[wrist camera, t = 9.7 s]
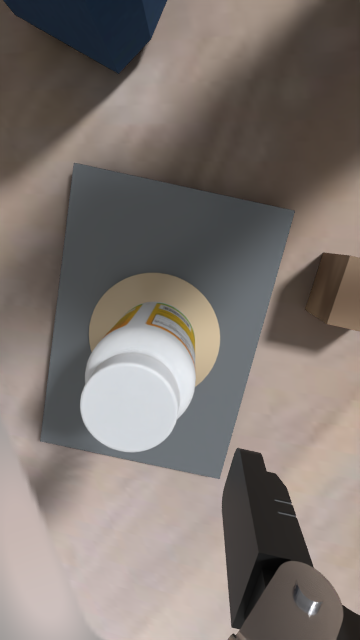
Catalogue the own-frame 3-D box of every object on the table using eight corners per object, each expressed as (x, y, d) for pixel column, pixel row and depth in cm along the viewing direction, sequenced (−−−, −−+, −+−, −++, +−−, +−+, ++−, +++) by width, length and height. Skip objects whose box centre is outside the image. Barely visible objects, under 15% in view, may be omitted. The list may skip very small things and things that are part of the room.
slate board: (79, 166, 21) (72, 161, 20) (290, 212, 22) (296, 210, 20) (45, 433, 26) (38, 443, 25) (218, 470, 26) (219, 481, 25)
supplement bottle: (121, 377, 23) (71, 471, 14) (112, 302, 22) (50, 349, 13) (197, 373, 23) (199, 467, 14) (193, 297, 22) (191, 342, 12)
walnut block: (322, 252, 22) (350, 255, 18) (380, 265, 22) (420, 271, 18) (304, 309, 23) (326, 324, 19) (360, 322, 23) (393, 339, 19)
